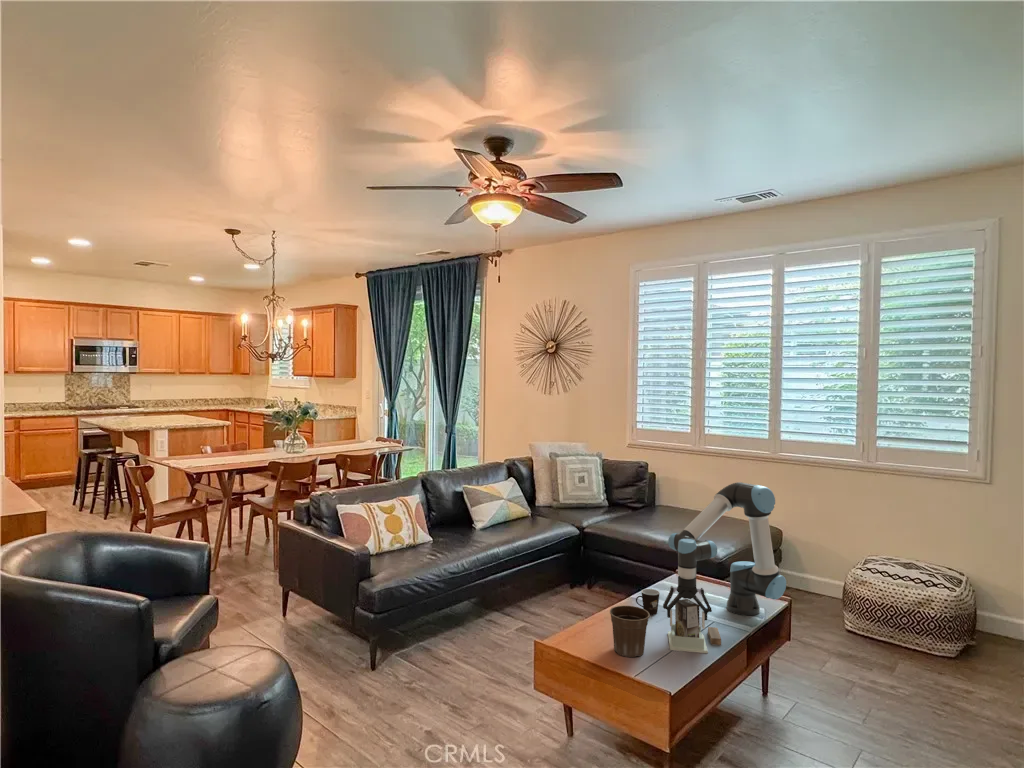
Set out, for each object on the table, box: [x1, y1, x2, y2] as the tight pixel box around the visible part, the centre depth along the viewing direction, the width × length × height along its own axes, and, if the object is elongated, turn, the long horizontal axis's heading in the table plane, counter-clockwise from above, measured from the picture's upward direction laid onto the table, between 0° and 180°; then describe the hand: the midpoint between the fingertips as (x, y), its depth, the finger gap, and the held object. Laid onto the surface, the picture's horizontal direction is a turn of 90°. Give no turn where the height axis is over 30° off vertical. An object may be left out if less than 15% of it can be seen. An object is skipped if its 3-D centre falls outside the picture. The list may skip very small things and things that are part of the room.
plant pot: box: [609, 605, 651, 658], centre depth 251 cm, size 16×16×16 cm
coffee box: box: [674, 598, 700, 638], centre depth 259 cm, size 9×6×16 cm
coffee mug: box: [635, 588, 660, 616], centre depth 293 cm, size 12×9×10 cm
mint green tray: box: [667, 623, 709, 654], centre depth 259 cm, size 15×17×5 cm
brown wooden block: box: [707, 626, 722, 646], centre depth 263 cm, size 4×12×3 cm, turn 168°
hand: (687, 626), depth 259 cm, fingers open, 13 cm apart
